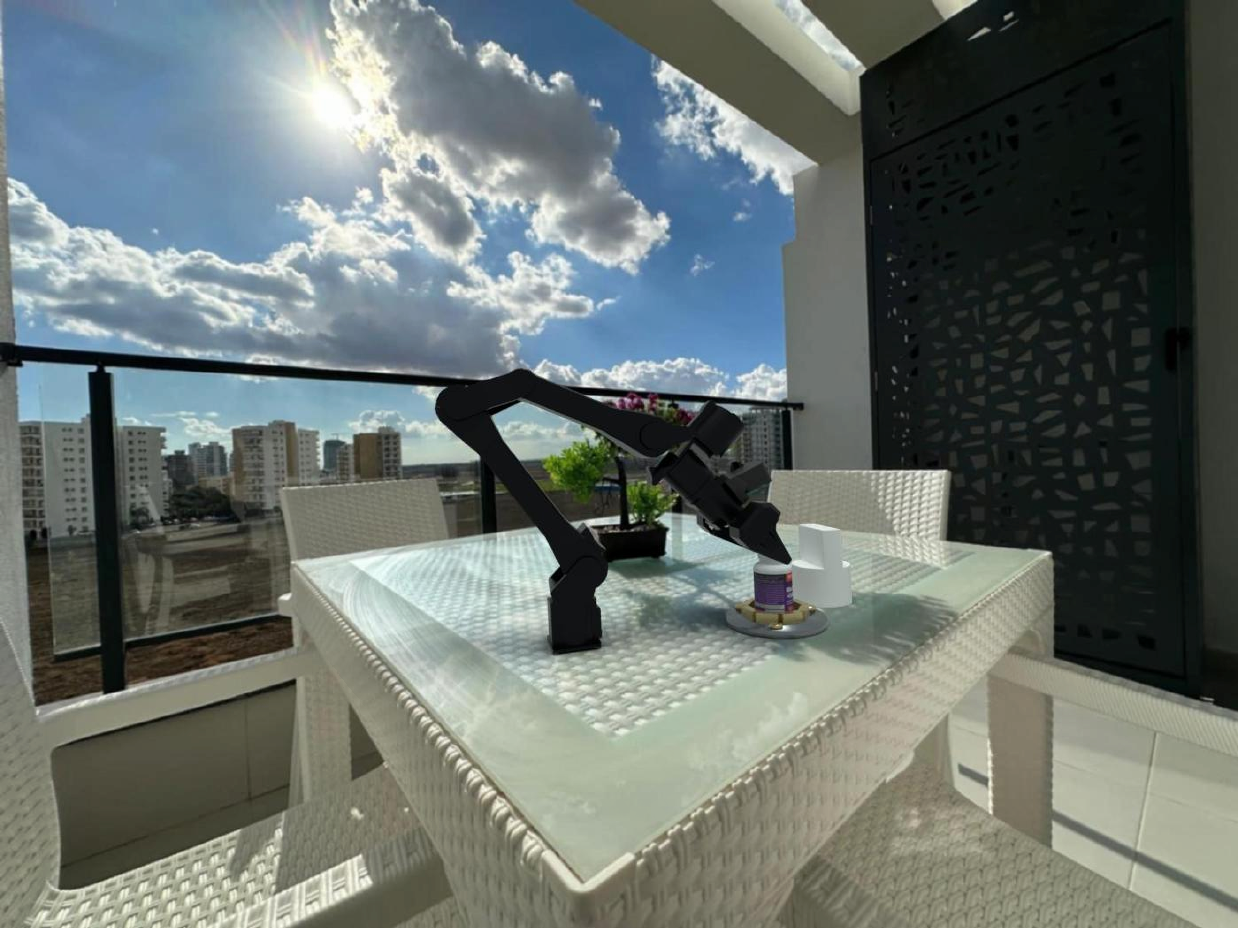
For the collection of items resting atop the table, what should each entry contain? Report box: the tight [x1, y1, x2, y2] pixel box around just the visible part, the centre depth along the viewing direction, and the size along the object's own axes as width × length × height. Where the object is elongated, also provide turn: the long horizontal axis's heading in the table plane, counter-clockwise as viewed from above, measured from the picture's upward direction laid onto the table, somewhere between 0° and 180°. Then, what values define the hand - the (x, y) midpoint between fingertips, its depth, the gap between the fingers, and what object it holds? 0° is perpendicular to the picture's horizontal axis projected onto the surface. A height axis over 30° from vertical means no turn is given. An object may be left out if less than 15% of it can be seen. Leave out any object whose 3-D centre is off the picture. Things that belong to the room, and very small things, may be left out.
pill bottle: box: [752, 553, 794, 613], centre depth 75 cm, size 5×5×10 cm
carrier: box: [725, 597, 829, 640], centre depth 75 cm, size 14×14×2 cm
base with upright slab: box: [791, 523, 853, 609], centre depth 85 cm, size 9×9×12 cm
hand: (774, 556), depth 75 cm, fingers open, 9 cm apart
